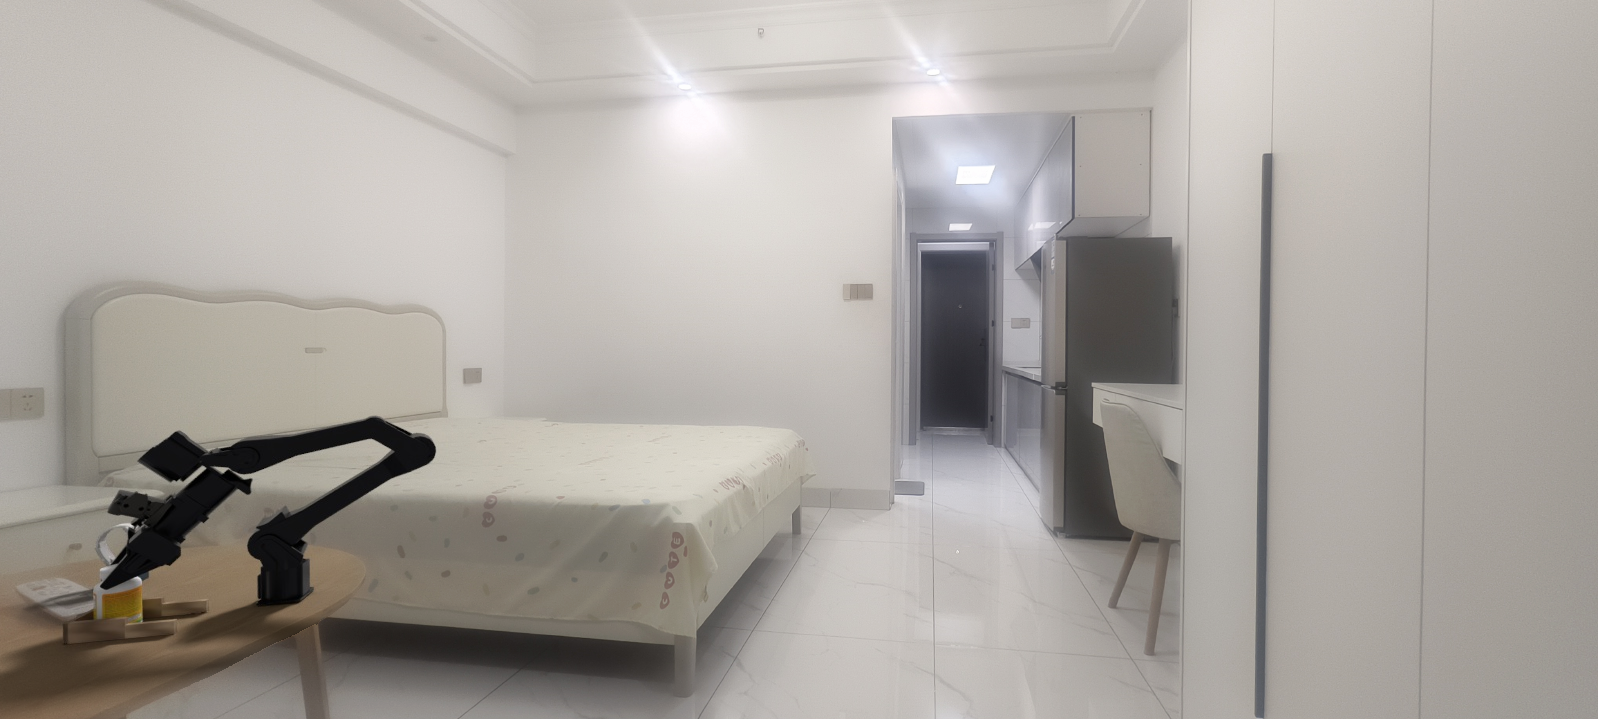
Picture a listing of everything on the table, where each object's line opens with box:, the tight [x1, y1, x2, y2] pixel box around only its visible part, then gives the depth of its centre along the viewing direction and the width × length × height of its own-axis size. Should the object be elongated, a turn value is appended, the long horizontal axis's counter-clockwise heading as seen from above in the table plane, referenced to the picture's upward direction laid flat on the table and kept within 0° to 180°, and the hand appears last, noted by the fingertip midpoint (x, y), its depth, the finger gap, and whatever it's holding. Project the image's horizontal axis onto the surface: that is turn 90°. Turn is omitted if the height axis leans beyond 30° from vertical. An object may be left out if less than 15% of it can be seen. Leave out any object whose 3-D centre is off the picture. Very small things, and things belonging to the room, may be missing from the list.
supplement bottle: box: [92, 564, 144, 623], centre depth 106 cm, size 5×5×10 cm
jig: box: [62, 596, 210, 645], centre depth 107 cm, size 14×10×3 cm
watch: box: [94, 522, 150, 582], centre depth 126 cm, size 6×8×11 cm
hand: (103, 582), depth 105 cm, fingers open, 6 cm apart
